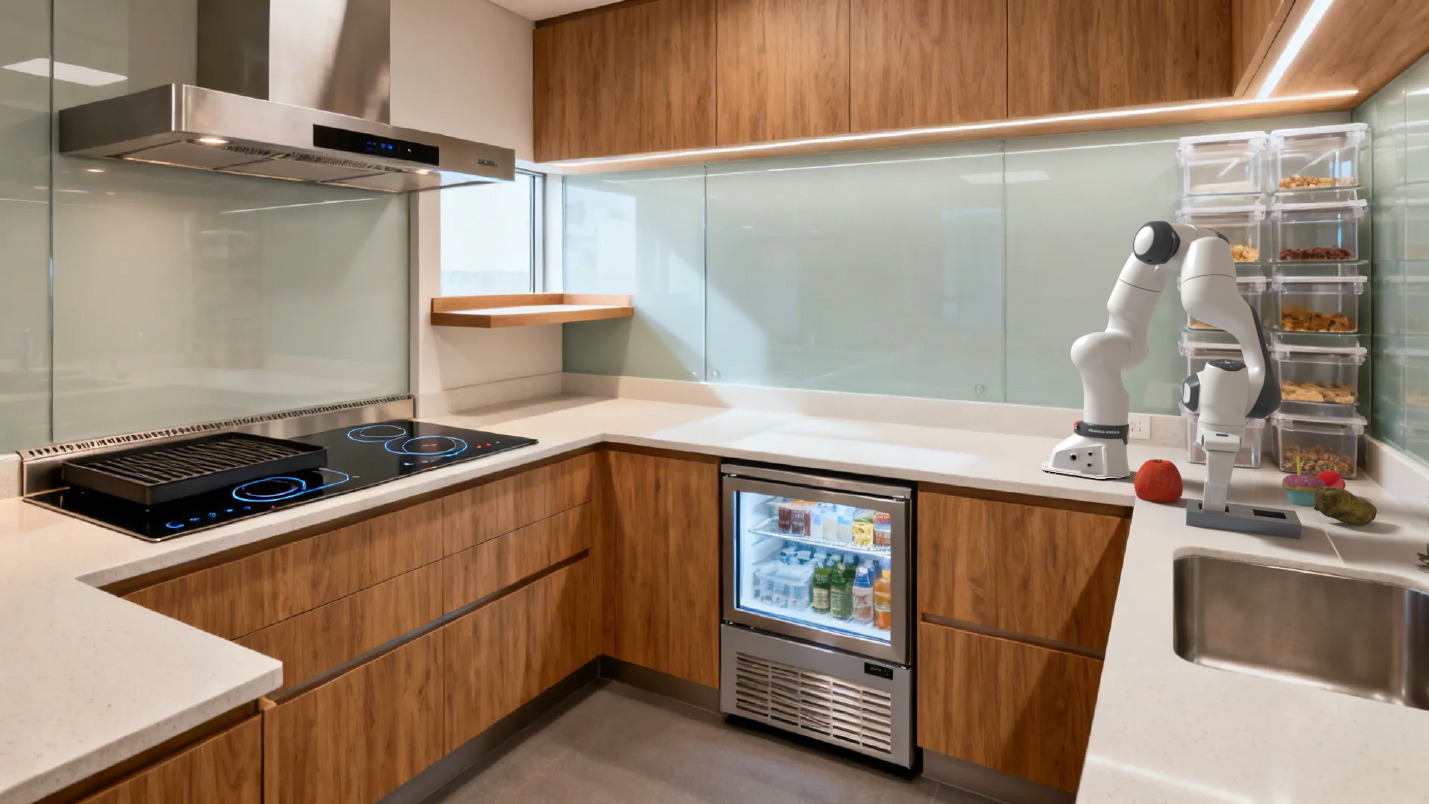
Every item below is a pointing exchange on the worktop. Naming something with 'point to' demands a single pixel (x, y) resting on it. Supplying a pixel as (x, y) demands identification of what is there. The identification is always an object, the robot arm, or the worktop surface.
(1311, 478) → the cupcake
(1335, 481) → the cap
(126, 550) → the worktop surface
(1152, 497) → the apple
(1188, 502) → the panel
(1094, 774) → the worktop surface
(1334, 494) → the potato
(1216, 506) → the plug
